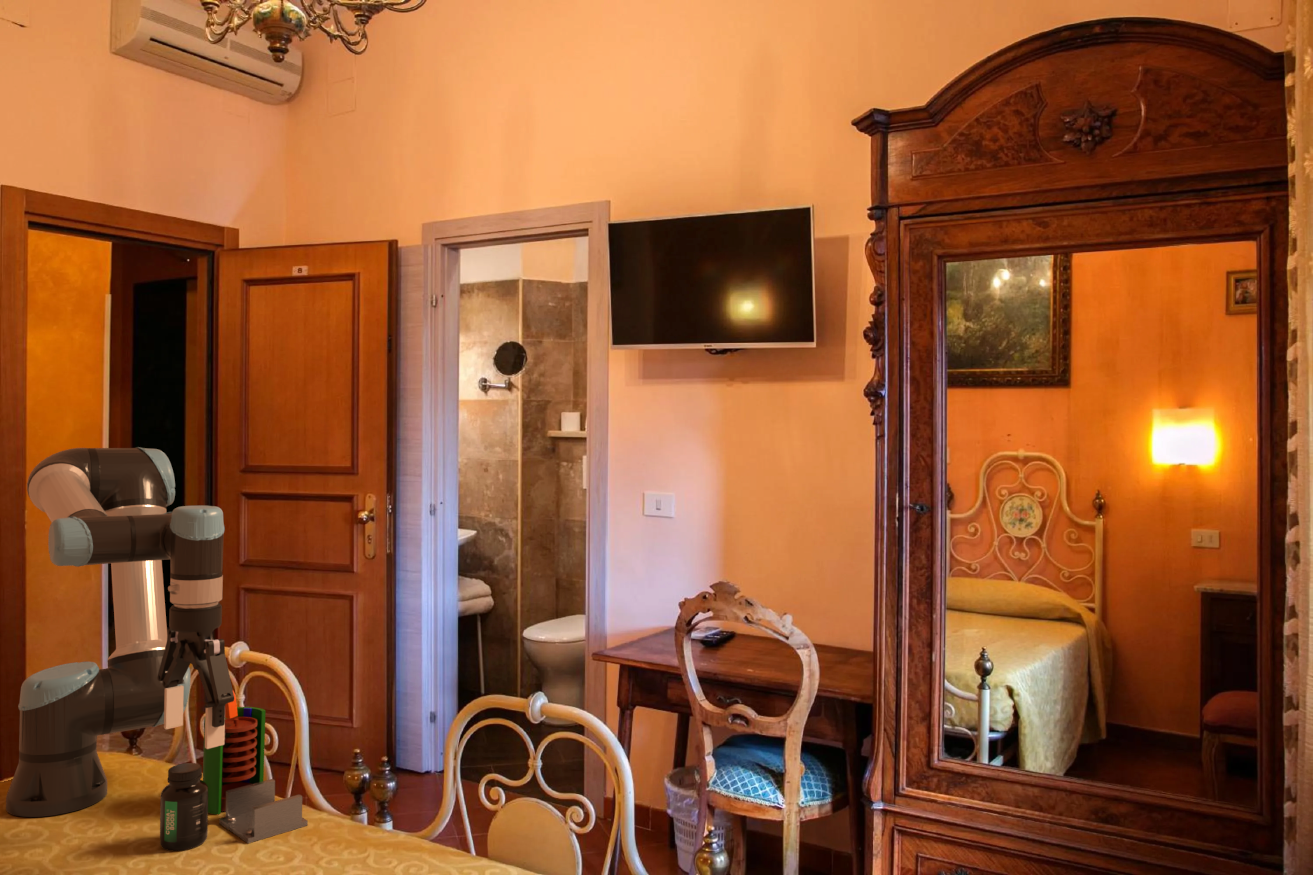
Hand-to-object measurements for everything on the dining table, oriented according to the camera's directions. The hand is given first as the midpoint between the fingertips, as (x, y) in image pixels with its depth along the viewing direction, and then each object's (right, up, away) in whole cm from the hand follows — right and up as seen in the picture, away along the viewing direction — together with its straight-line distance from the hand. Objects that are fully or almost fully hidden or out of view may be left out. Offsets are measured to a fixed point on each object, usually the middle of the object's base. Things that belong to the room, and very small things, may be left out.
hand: (193, 736), depth 151 cm
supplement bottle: (-2, -17, +1) cm, 17 cm away
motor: (-2, -17, +17) cm, 24 cm away
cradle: (+8, -17, +8) cm, 21 cm away
